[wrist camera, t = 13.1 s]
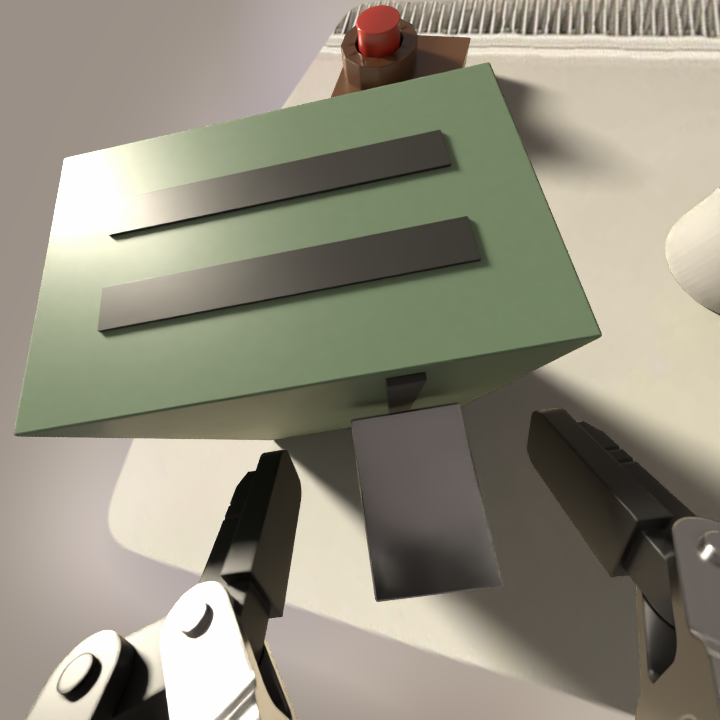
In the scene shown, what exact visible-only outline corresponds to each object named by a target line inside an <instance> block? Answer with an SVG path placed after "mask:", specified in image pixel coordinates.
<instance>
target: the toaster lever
mask: <svg viewBox="0 0 720 720" xmlns="http://www.w3.org/2000/svg"><path fill="white" fill-rule="evenodd" d="M351 428H352V435H353V442H354V449H355V457H356V464H357V471H358V478H359V486H360V493H361V500H362V507H363V515H364V522H365V529H366V537H367V544H368V551H369V558H370V566H371V573H372V580H373V587H374V595H375V600H376V601H377V602H380V601H388V600H396V599H405V598H413V597H421V596H429V595H437V594H445V593H453V592H461V591H469V590H477V589H485V588H493V587H501V586H503V580H502V576H501V572H500V568H499V564H498V560H497V556H496V551H495V547H494V543H493V539H492V535H491V531H490V527H489V523H488V519H487V515H486V511H485V507H484V503H483V499H482V495H481V490H480V486H479V482H478V478H477V474H476V470H475V466H474V462H473V458H472V454H471V450H470V446H469V442H468V438H467V434H466V430H465V425H464V421H463V417H462V413H461V409H460V405H459V403H457V402H456V403H450V404H444V405H438V406H432V407H426V408H419V409H413V410H407V411H401V412H395V413H388V414H382V415H376V416H370V417H364V418H357V419H352V420H351Z"/></svg>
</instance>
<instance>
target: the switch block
mask: <svg viewBox="0 0 720 720" xmlns="http://www.w3.org/2000/svg"><path fill="white" fill-rule="evenodd" d="M469 44H470V38H465V37H443V36H421V35H417V33H416V31H415V29H414V28H413V26H412V24H410V23H408V22H406V21H404V20H402V19H400V45H399V48H398V49H397V50H396V51H395V52H394V53H392V54H391V55H388V56H384V57H381V58H372V57H365V56H363V55H361V54H360V52H359V46H358V34H357V25H356V26H355V27H353V28H352V29H351V30H349V31H348V32H347V33H346V35H345V37H344V40H343V42H342V45H341V52H342V60H343V68H342V71H341V73H340V76H339V78H338V81H337V83H336V86H335V88H334V91H333V93H332V96H331V98H333V97H337V96H342V95H346V94H351V93H355V92H359V91H364V90H368V89H373V88H377V87H381V86H386V85H390V84H395V83H399V82H404V81H408V80H412V79H417V78H421V77H426V76H430V75H434V74H439V73H443V72H448V71H452V70H457V69H461V68H465V64H466V59H467V54H468V49H469Z"/></svg>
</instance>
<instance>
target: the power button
mask: <svg viewBox="0 0 720 720" xmlns="http://www.w3.org/2000/svg"><path fill="white" fill-rule="evenodd" d="M357 34H358V46H359V52H360V54H361V55H363V56H365V57H372V58H381V57H384V56H388V55H391V54H392V53H394V52H395V51H396V50H397V49H398V48H399V45H400V14H399V12H398V11H397V10H396V9H395V8H393V7H390V6H384V5H382V6H375V7H371V8H369V9H367V10H365V11H364V12H362V13H361V14H360V16H359V17H358V19H357Z"/></svg>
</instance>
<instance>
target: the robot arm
mask: <svg viewBox="0 0 720 720" xmlns="http://www.w3.org/2000/svg"><path fill="white" fill-rule="evenodd" d="M527 451H528V455H529V458H530V461H531V463H532V465H533V466H534V468H535V469H536V470H537V472H538V473H539V475H540V476H541V478H542V479H543V481H544V482H545V483H546V485H547V486H548V488H549V489H550V491H551V492H552V493H553V495H554V496H555V498H556V499H557V501H558V502H559V504H560V505H561V506H562V508H563V509H564V511H565V512H566V514H567V515H568V517H569V518H570V519H571V521H572V522H573V524H574V525H575V527H576V528H577V529H578V531H579V532H580V534H581V535H582V537H583V538H584V540H585V541H586V542H587V544H588V545H589V547H590V548H591V550H592V551H593V553H594V554H595V555H596V557H597V558H598V560H599V561H600V563H601V564H602V565H603V567H604V568H605V570H606V571H607V573H608V574H609V576H610V577H617V576H625V575H629V576H630V577H631V578H632V580H633V581H634V582H635V584H636V585H637V589H636V610H637V627H638V644H639V661H640V693H639V698H638V702H637V707H636V717H635V720H720V523H719V522H716V521H713V520H710V519H706V518H700V517H697V516H696V515H695V514H693V513H692V512H691V511H690V510H689V509H688V508H686V507H685V506H684V505H683V504H682V503H681V502H680V501H679V500H678V499H677V498H676V497H674V496H673V495H672V494H671V493H670V492H669V491H668V490H667V489H666V488H665V487H663V486H662V485H661V484H660V483H659V482H658V481H657V480H656V479H655V478H654V477H652V476H651V475H650V474H649V473H648V472H647V471H646V470H645V469H644V468H643V467H641V466H640V465H639V464H638V463H637V462H634V461H633V459H632V457H630V456H629V455H628V454H627V453H626V452H625V451H624V450H623V449H620V448H619V446H618V445H617V444H616V443H615V442H614V441H613V440H612V439H611V438H610V437H609V436H607V435H606V434H605V433H604V432H603V431H601V430H599V429H597V428H595V427H593V426H591V425H590V424H588V423H586V422H584V421H582V422H577V421H576V420H575V419H574V418H573V417H572V416H571V415H570V414H568V413H567V412H566V411H565V410H564V409H562V408H559V407H558V408H551V409H545V410H539V411H534V412H533V413H532V415H531V420H530V427H529V434H528V442H527ZM300 502H301V483H300V479H299V477H298V474H297V472H296V469H295V467H294V465H293V462H292V460H291V457H290V455H289V453H288V451H287V450H279V451H273V452H267V453H263V454H262V455H261V457H260V460H259V463H258V466H257V469H256V471H251V472H248V473H247V474H246V475H245V477H244V478H243V479H242V480H241V482H240V483H239V484H238V486H237V487H236V490H235V492H234V495H233V497H232V500H231V502H230V504H231V505H230V506H229V507H228V510H227V513H226V515H225V520H223V523H222V525H221V528H220V531H219V533H218V536H217V538H216V541H215V543H214V546H213V549H212V551H211V554H210V556H209V559H208V561H207V564H206V567H205V569H204V572H203V574H202V577H201V579H200V581H199V583H198V584H197V586H195V587H194V588H192V589H191V590H189V591H188V592H187V593H186V594H184V595H183V596H182V597H181V599H180V600H179V601H178V602H177V603H176V604H175V606H174V607H173V609H172V610H171V612H170V613H169V615H167V616H166V617H164V618H162V619H160V620H158V621H156V622H154V623H152V624H151V625H148V626H146V627H144V628H143V629H141V630H138V631H136V632H135V633H133V634H130V635H129V636H126V637H125V638H123V637H122V636H120V635H119V634H117V633H116V632H114V631H111V630H105V631H101V632H98V633H96V634H93V635H92V636H90V637H88V638H87V639H85V640H84V641H82V642H81V643H80V644H78V645H77V646H76V647H75V648H74V649H73V650H72V651H71V652H70V653H69V654H68V655H67V656H66V657H65V658H64V659H63V660H62V661H61V662H60V664H59V665H58V666H57V667H56V669H55V670H54V672H53V673H52V674H51V676H50V677H49V679H48V681H47V682H46V684H45V685H44V687H43V689H42V690H41V692H40V694H39V696H38V697H37V699H36V701H35V702H34V704H33V706H32V707H31V709H30V711H29V713H28V714H27V716H26V718H25V719H24V720H298V718H297V716H296V714H295V711H294V709H293V706H292V704H291V701H290V698H289V696H288V693H287V691H286V688H285V686H284V683H283V681H282V678H281V676H280V673H279V671H278V668H277V666H276V663H275V661H274V658H273V656H272V653H271V650H270V648H269V646H268V643H267V640H266V638H265V635H266V629H267V624H268V619H269V618H276V617H282V616H283V610H284V604H285V597H286V591H287V585H288V578H289V572H290V566H291V559H292V553H293V547H294V540H295V534H296V528H297V521H298V515H299V509H300Z"/></svg>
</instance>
